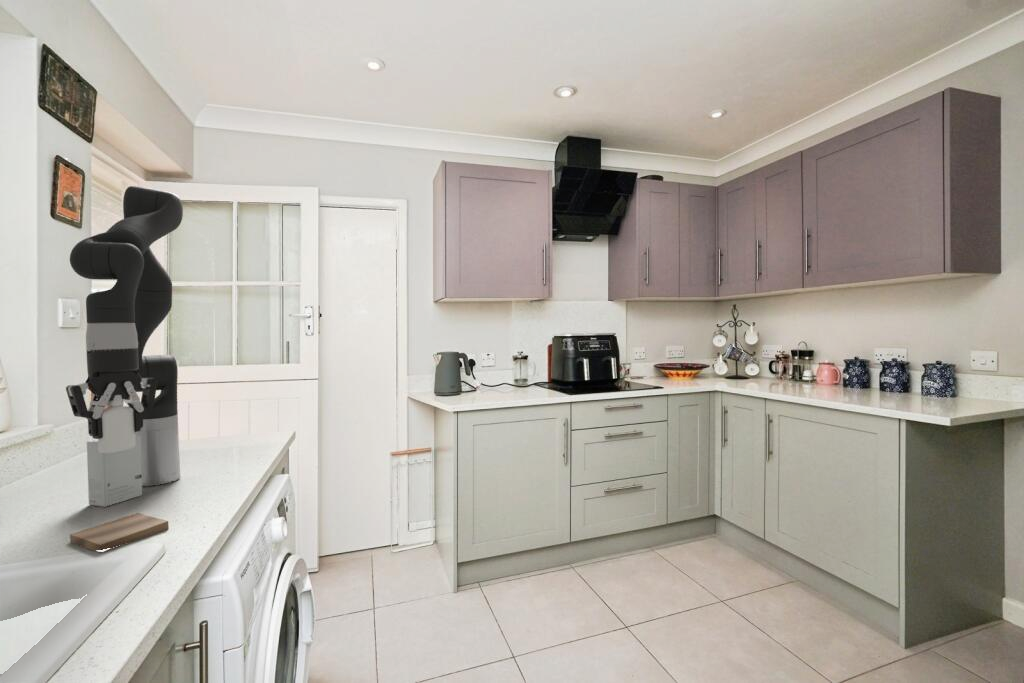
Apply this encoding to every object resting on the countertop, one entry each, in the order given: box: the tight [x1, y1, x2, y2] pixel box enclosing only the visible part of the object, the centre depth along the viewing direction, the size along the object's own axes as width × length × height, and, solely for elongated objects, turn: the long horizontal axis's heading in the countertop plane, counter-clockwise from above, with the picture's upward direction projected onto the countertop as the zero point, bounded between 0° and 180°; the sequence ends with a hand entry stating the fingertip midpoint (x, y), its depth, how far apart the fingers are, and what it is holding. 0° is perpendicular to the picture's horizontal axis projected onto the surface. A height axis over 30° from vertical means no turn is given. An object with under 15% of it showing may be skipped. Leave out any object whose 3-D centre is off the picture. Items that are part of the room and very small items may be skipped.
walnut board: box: [69, 512, 169, 551], centre depth 90 cm, size 11×11×2 cm
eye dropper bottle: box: [98, 395, 135, 453], centre depth 89 cm, size 4×6×12 cm
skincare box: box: [86, 435, 143, 508], centre depth 109 cm, size 8×6×15 cm
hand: (117, 434), depth 89 cm, fingers closed on eye dropper bottle, 5 cm apart
